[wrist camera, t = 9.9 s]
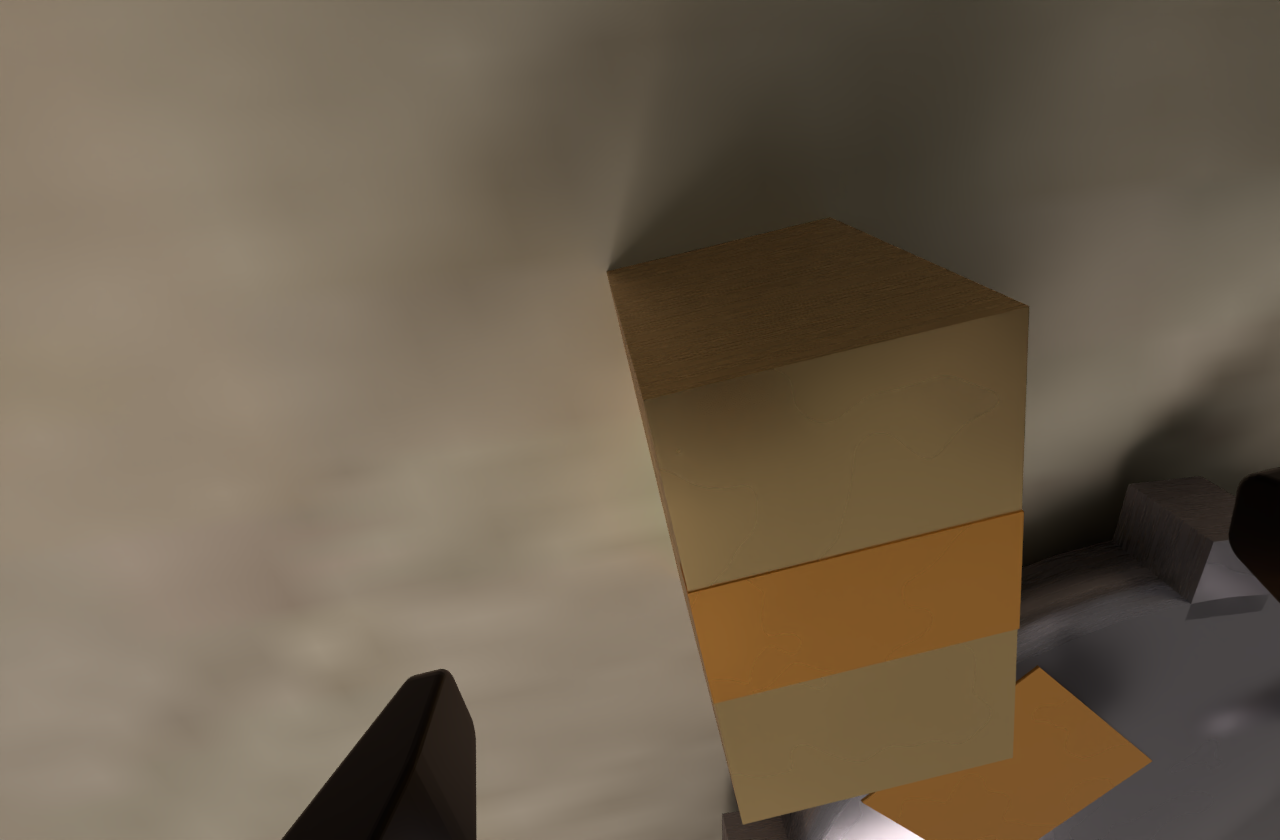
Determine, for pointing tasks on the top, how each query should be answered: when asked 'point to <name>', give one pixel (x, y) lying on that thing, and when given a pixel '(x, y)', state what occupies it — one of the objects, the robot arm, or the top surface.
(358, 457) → the top surface
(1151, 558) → the sprocket
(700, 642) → the orange banded block
